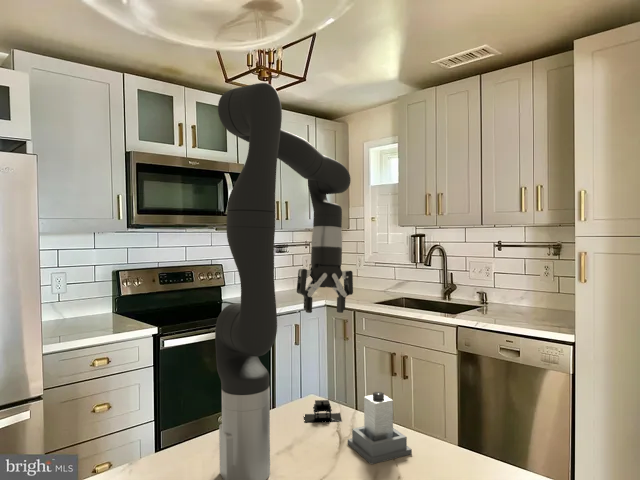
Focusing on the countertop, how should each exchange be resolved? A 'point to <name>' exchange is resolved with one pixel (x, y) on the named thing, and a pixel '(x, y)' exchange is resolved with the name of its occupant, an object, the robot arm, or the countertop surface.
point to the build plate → (322, 417)
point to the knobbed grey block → (378, 417)
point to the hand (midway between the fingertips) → (324, 312)
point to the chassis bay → (379, 446)
